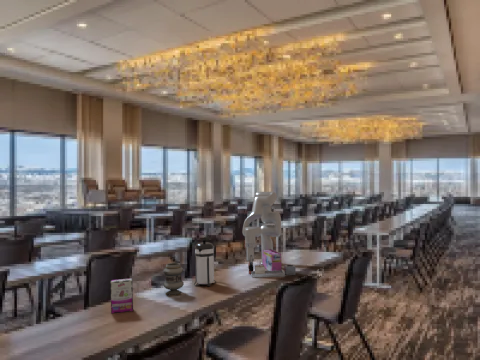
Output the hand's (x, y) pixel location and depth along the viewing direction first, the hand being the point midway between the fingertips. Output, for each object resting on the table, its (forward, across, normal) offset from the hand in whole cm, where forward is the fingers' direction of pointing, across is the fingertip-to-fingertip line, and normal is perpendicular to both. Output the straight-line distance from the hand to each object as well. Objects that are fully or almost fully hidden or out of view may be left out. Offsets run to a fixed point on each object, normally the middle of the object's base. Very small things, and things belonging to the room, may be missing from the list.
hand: (250, 269), depth 289 cm
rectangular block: (+3, +7, +12) cm, 14 cm away
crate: (+3, +7, +6) cm, 10 cm away
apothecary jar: (+3, +47, -50) cm, 69 cm away
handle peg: (+3, 0, 0) cm, 3 cm away
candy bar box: (+3, +78, -73) cm, 107 cm away
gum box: (+3, -14, +17) cm, 22 cm away
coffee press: (+3, +26, -32) cm, 41 cm away
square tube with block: (+3, +2, +28) cm, 28 cm away
